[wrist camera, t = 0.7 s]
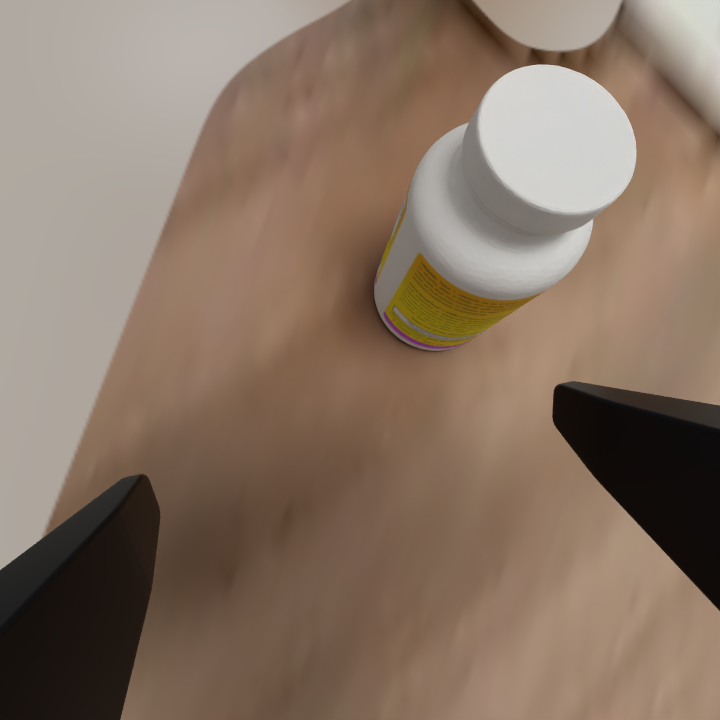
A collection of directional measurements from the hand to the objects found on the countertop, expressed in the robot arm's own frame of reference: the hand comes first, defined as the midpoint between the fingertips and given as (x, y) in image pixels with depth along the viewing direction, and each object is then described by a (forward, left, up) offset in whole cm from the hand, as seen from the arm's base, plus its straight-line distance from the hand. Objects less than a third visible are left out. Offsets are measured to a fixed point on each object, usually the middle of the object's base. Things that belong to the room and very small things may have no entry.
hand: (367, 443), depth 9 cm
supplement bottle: (+3, -9, -13) cm, 16 cm away
